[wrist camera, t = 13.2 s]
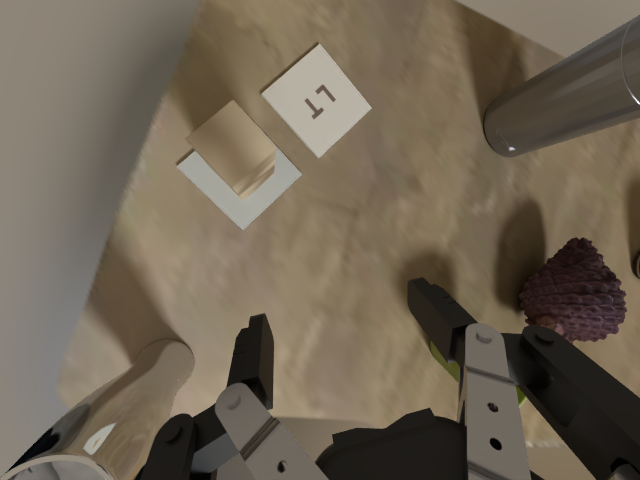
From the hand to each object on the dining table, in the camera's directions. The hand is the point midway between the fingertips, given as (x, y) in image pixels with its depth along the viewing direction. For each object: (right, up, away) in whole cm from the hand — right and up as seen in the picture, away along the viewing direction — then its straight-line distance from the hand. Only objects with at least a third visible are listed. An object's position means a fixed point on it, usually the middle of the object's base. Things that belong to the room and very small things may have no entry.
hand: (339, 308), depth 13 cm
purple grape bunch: (+33, -4, +26) cm, 42 cm away
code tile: (-1, +21, +17) cm, 27 cm away
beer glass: (-19, -11, +15) cm, 26 cm away
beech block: (-10, +12, +15) cm, 22 cm away
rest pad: (-10, +12, +16) cm, 22 cm away
